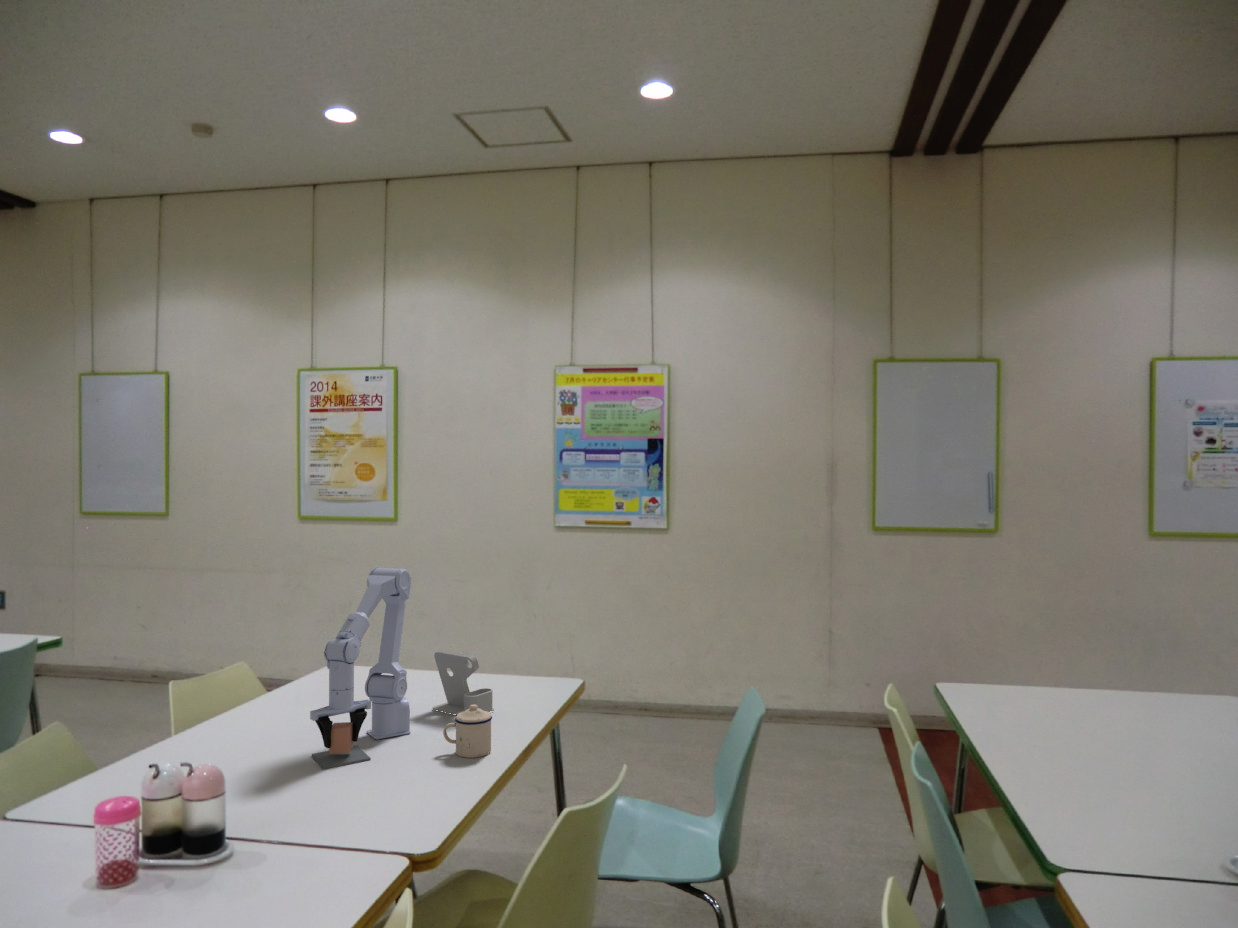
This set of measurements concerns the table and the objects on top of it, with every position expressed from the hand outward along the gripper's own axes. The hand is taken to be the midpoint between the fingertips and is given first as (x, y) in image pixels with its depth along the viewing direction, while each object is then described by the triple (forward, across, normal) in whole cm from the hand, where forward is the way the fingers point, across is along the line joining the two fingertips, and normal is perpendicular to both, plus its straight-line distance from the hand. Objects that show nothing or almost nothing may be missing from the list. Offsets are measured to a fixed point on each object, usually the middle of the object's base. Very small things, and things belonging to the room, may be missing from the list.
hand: (341, 743), depth 191 cm
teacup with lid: (+4, -25, +18) cm, 31 cm away
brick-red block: (+1, 0, 0) cm, 1 cm away
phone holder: (+4, -43, -14) cm, 45 cm away
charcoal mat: (+3, 0, 0) cm, 3 cm away
